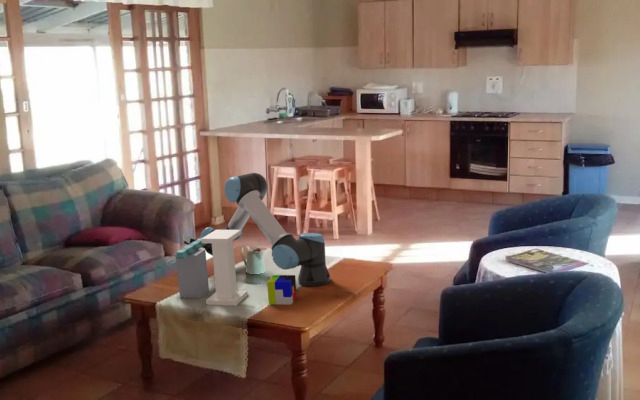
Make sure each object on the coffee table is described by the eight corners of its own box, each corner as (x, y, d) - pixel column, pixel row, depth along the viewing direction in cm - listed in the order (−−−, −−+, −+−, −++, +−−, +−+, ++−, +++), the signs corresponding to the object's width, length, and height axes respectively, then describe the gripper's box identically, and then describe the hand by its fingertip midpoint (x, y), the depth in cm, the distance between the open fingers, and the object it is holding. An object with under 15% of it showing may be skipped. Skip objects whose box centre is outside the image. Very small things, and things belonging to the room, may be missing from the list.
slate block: (189, 290, 325) (185, 249, 321) (209, 291, 322) (205, 249, 319) (179, 297, 315) (175, 255, 312) (200, 298, 313) (196, 255, 309)
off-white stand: (219, 293, 318) (214, 229, 312) (248, 294, 315) (243, 229, 309) (205, 305, 303) (199, 238, 297) (235, 306, 299) (229, 238, 294)
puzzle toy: (291, 304, 298) (289, 282, 296) (268, 304, 300) (267, 282, 298) (296, 296, 307) (295, 275, 305) (274, 296, 309) (273, 275, 307)
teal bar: (201, 243, 330) (200, 237, 329) (207, 243, 329) (206, 237, 328) (176, 258, 305) (176, 252, 305) (183, 259, 304) (182, 252, 304)
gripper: (237, 256, 337) (221, 244, 317) (190, 255, 343) (171, 244, 324) (239, 241, 339) (223, 229, 320) (192, 240, 346) (173, 228, 326)
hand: (197, 236), depth 322 cm, fingers open, 13 cm apart
